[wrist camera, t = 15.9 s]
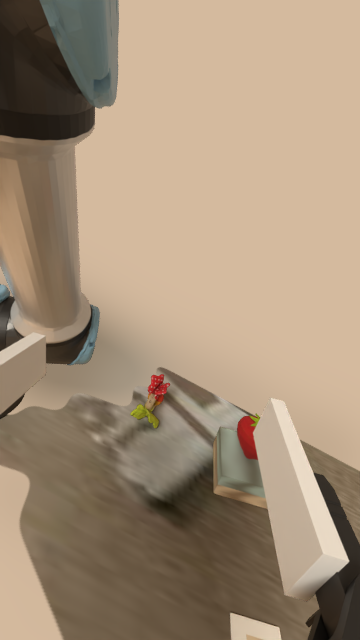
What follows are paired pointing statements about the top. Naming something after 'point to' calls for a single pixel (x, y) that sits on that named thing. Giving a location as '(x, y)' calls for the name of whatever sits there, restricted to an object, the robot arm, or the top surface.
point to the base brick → (236, 471)
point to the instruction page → (252, 629)
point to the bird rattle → (152, 400)
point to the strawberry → (248, 435)
